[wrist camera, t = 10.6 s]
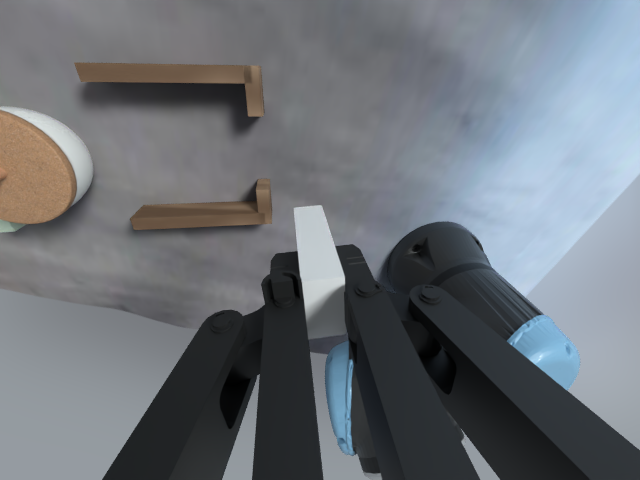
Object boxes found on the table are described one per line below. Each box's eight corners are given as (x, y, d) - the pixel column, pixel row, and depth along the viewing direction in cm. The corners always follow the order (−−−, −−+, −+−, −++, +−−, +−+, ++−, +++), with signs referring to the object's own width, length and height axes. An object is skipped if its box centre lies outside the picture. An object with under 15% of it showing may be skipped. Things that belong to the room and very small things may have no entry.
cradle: (272, 210, 39) (271, 223, 36) (147, 215, 38) (134, 230, 34) (260, 66, 31) (258, 65, 27) (98, 63, 29) (74, 62, 26)
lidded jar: (7, 77, 29) (-99, 78, 21) (122, 136, 33) (72, 157, 25) (-8, 167, 33) (-101, 198, 24) (98, 210, 36) (47, 249, 28)
